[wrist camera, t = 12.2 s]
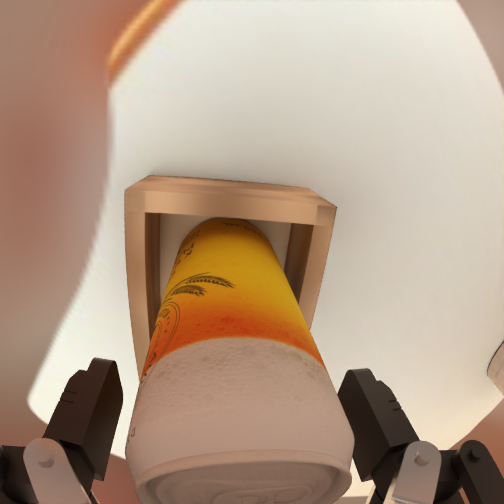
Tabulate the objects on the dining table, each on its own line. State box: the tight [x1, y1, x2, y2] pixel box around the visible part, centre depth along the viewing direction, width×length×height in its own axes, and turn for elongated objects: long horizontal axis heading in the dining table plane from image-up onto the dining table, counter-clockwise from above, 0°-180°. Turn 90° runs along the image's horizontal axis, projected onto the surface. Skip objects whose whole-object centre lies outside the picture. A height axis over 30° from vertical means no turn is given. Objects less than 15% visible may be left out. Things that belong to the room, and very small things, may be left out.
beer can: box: [125, 218, 354, 504], centre depth 12 cm, size 6×6×15 cm
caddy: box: [125, 176, 337, 381], centre depth 14 cm, size 10×19×16 cm, turn 173°
